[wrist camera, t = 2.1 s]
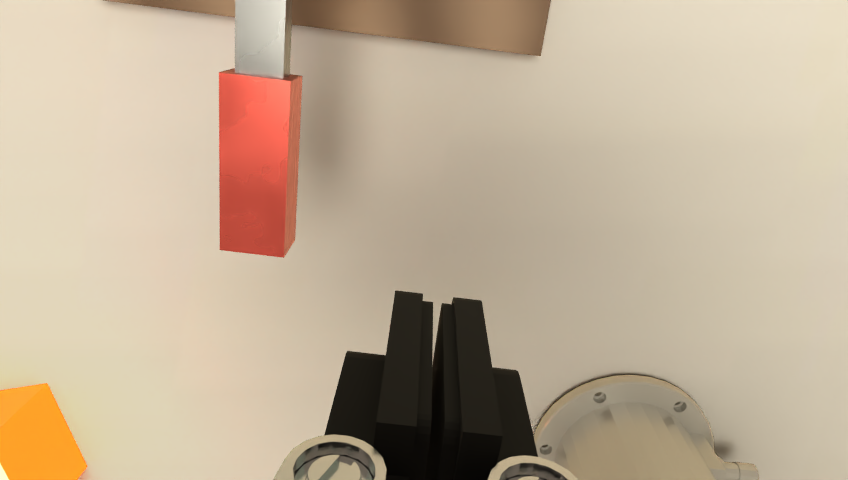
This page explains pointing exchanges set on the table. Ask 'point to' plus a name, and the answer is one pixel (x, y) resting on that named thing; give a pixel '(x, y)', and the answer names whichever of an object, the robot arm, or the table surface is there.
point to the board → (411, 19)
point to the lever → (259, 133)
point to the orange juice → (36, 437)
